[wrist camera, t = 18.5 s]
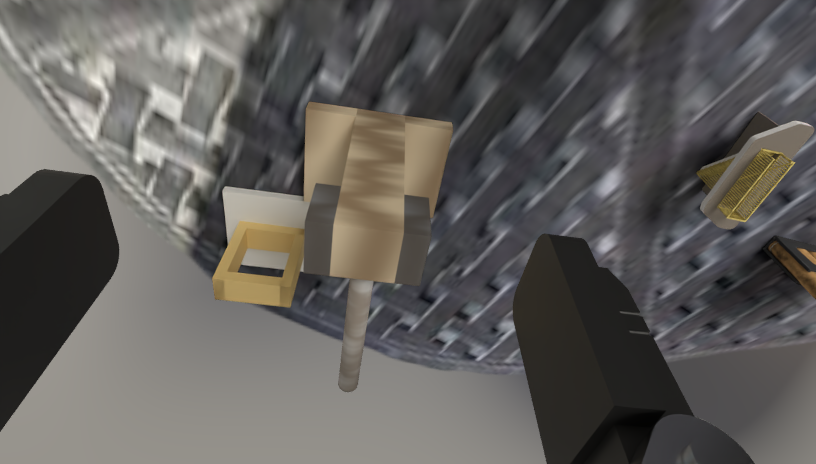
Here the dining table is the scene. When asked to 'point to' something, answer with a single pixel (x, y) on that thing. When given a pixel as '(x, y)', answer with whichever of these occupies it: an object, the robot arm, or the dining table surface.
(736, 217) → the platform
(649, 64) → the dining table surface
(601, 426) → the robot arm
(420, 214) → the stand
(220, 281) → the loop
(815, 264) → the ammunition clip
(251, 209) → the mat
